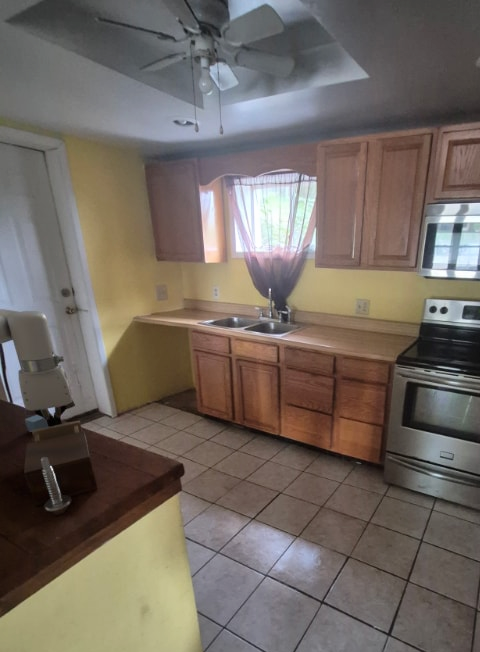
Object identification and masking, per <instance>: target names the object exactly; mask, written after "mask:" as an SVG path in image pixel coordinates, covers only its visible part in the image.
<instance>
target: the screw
mask: <svg viewBox="0 0 480 652" xmlns="http://www.w3.org/2000/svg"><path fill="white" fill-rule="evenodd" d="M41 464H42V468H43V470H42V471H43V473H42V474H44V475H43V476H44V477H45V478H44V479H46V480H45V482H46V484H47V487H48V488H47V489H49V490H48V491H49V494H50V496H51V497H50V498H51V499H49V500H48V501H47V502H46V503H45V504H44V505H43V510H44V511H46V512H48V513H52V514H53V515H55V516H59V515H62V514H65V513H66V512H67V510H68V509H69V507H68V506H70V505H71V503H73V502H72V497H70V496H67V495H61V493H60V490H59V488H58V487H59V486H58V483H57V481H56V478H55V477H56V476H55V473H54V471H53V468H52V466H50V463H49V460H48V458H47V457H43V458H42V459H41Z"/></svg>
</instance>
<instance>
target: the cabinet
mask: <svg viewBox="0 0 480 652" xmlns="http://www.w3.org/2000/svg"><path fill="white" fill-rule="evenodd" d="M86 436H87V435H86V432H85V431H84V430H82V432H78V433H74V434H69V435H64V436H60V437H55V438H51V439H46V440H41V441H37V442H35V441H32V442H28V443H26V447H25V448H26V449H25V450H26V451H25V460H24V461H25V463H24V472H23V474H24V477H25V480H26V482H27V485H28V489H29V491H30V494H31V497H32V500H33V503H34V505H35V508H38V507H41V506H44V504H45V503H46V502H47V501H48V500H49V499H51V498H50V497H51V496H50V494H49V491H48V490H49V489H47V488H48V487H47V484H46V482H45V480H46V479H44V478H45V477H44V476H43V475H44V474H42V473H43V471H42V470H43V468H42V464H41V459H42V458H43V457H47V458H48V460H49V463H50V466H52V468H53V471H54V473H55V476H56V477H55V478H56V481H57V483H58V486H59V487H58V488H59V490H60V493H61V495H67V496H70V497H71V498H72V497H76V496H80V495H83V494H86V493H90V492H92V491H97V490H98V489H99V488H98V484H97V480H96V479H97V478H96V474H95V470H94V464H93V460H92V456H91V451H90V448H89V444H88V440H87V437H86Z"/></svg>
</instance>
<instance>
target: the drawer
mask: <svg viewBox="0 0 480 652" xmlns="http://www.w3.org/2000/svg"><path fill="white" fill-rule="evenodd" d="M78 432H83V429H82V425H81V421H80V420H76V421H75V420H74V421H69V422H64V423H62V424H60V425H55V426H50V427H45V428H40V429H35V430H32V433H31V434H32V437H33V440H34V442H37V441H41V440H46V439H51V438H55V437H60V436H64V435H69V434H74V433H78Z"/></svg>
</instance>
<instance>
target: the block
mask: <svg viewBox="0 0 480 652" xmlns="http://www.w3.org/2000/svg"><path fill="white" fill-rule="evenodd" d="M24 422H25V425H26V429H27V431H29V432H28V433H31V432H32V430H35V429H40V428H45V427H48V423H47V420H45V419H44V418H43V417H41V416H39V415H36V414H35V415H32V416H30V417H27V418H25V419H24Z"/></svg>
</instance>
